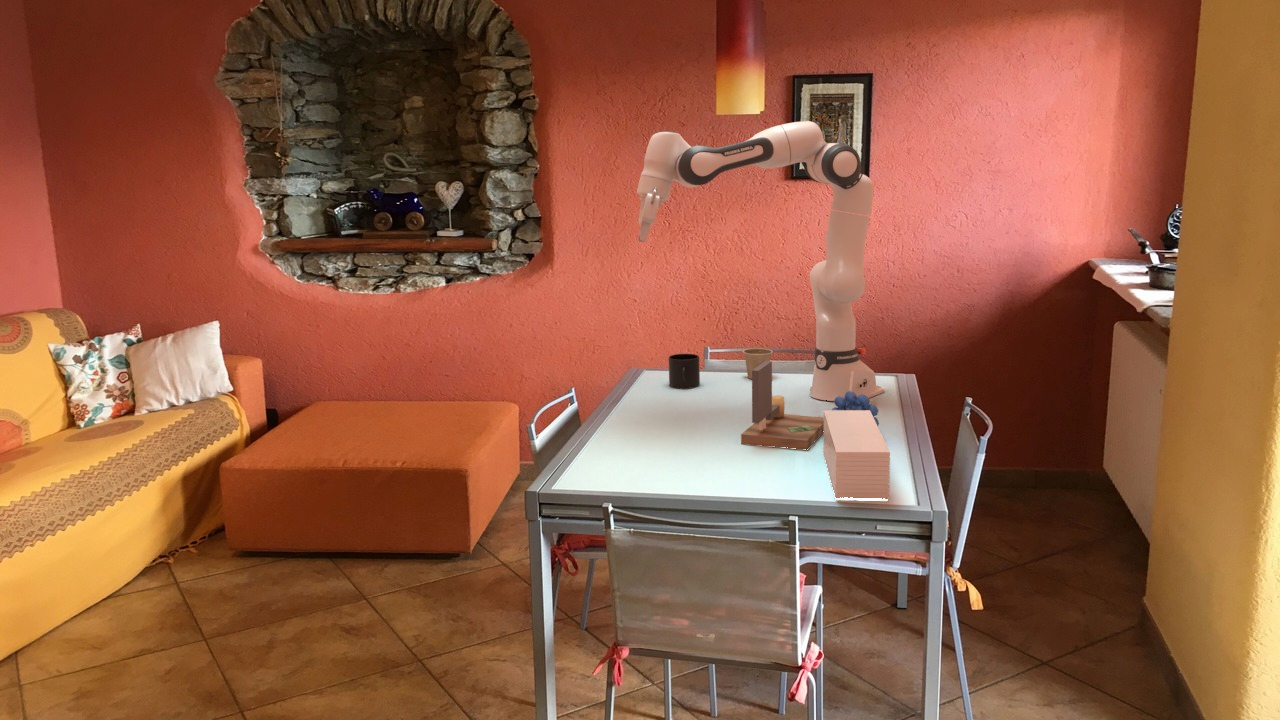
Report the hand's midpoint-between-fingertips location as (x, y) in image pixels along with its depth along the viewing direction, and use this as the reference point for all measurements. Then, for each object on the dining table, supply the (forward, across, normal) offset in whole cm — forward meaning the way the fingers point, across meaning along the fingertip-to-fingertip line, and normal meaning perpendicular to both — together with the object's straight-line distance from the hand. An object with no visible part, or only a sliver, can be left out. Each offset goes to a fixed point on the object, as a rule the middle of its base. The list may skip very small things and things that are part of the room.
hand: (642, 241), depth 259 cm
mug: (+38, +34, -24) cm, 57 cm away
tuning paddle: (+39, -21, -41) cm, 60 cm away
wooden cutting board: (+40, -22, -46) cm, 65 cm away
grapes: (+37, -27, -62) cm, 77 cm away
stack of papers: (+43, -53, -56) cm, 88 cm away
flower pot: (+31, +41, -47) cm, 70 cm away
